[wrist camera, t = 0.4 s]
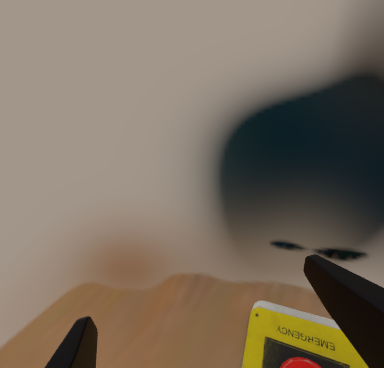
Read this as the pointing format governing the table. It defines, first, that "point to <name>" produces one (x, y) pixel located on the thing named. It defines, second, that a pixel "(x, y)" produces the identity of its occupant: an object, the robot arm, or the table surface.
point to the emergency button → (296, 340)
